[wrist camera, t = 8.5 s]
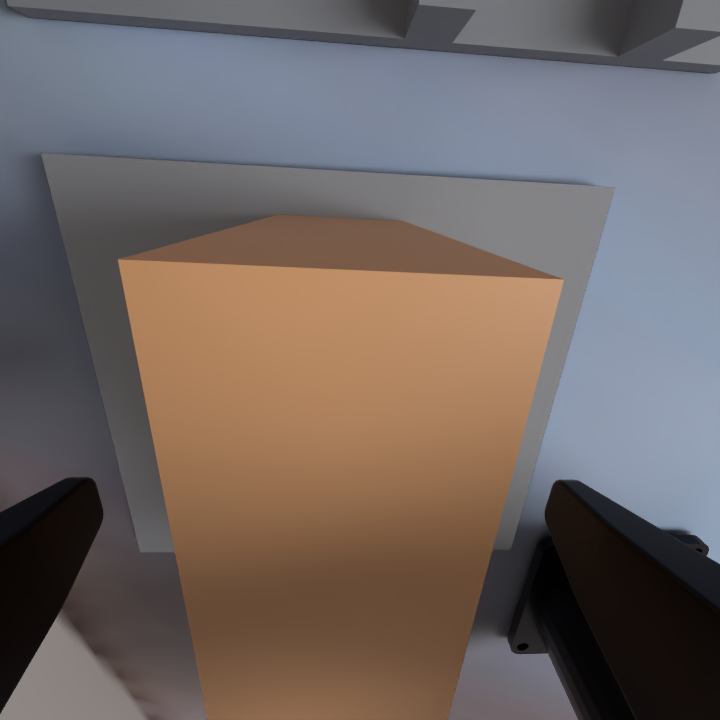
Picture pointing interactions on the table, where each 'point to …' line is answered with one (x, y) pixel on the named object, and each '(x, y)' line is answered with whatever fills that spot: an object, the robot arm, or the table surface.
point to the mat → (300, 198)
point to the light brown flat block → (334, 452)
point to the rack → (442, 25)
